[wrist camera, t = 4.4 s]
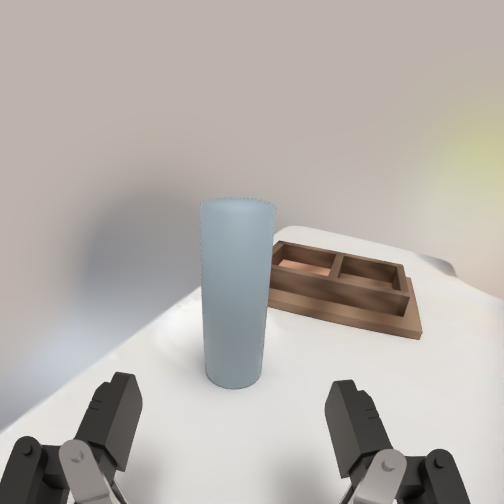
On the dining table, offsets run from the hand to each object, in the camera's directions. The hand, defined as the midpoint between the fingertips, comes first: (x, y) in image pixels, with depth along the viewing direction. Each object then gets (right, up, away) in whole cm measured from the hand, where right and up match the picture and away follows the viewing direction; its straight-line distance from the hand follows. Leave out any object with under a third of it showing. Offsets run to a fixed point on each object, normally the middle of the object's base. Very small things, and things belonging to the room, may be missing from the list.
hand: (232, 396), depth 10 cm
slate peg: (-1, -4, +11) cm, 12 cm away
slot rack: (+11, +1, +24) cm, 27 cm away
